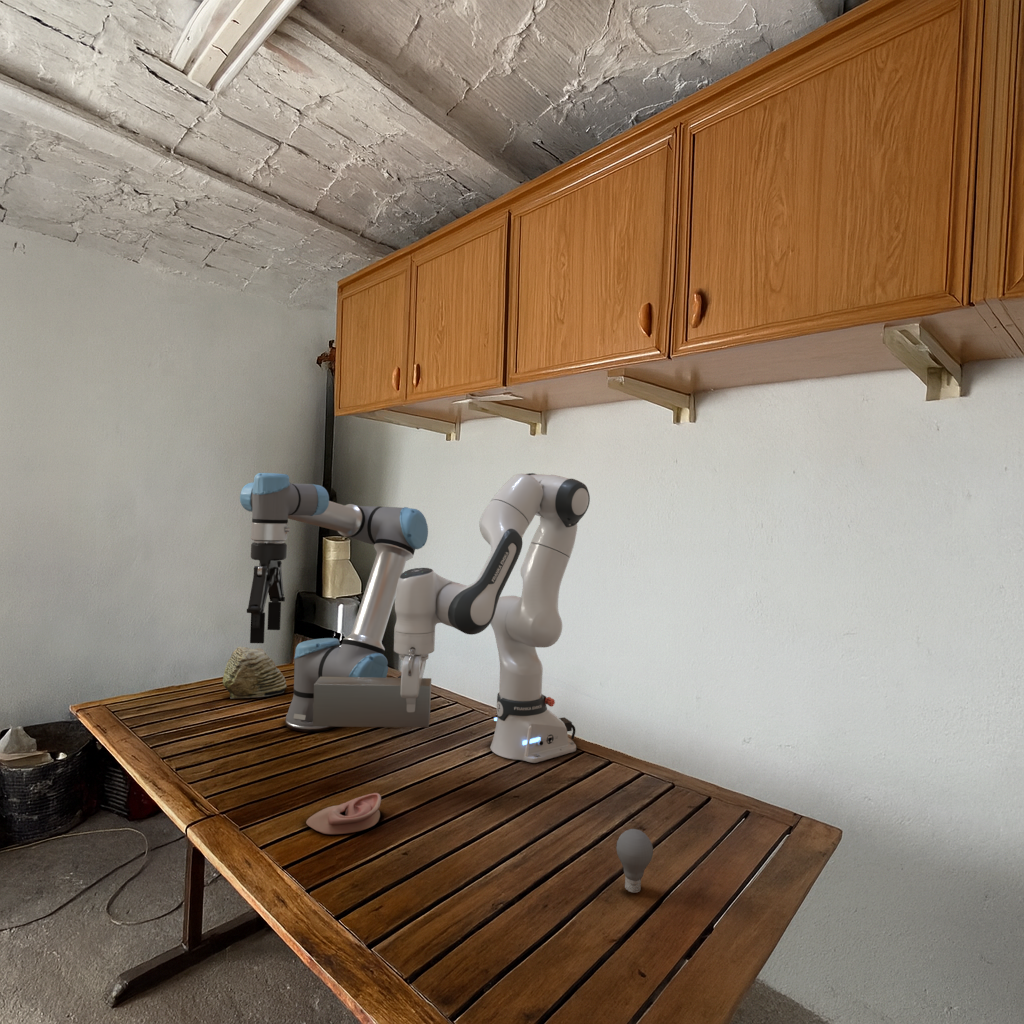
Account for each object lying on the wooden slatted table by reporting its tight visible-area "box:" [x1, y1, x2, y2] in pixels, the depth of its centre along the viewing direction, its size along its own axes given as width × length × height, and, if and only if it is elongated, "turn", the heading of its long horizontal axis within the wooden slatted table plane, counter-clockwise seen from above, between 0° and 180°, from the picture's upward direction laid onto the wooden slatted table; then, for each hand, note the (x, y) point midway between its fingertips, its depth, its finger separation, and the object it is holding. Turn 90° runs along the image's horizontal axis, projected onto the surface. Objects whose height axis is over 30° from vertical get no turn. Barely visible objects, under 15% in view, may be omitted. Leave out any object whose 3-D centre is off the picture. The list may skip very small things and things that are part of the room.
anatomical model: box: [305, 792, 382, 835], centre depth 124 cm, size 13×4×12 cm
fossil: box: [222, 646, 288, 699], centre depth 198 cm, size 9×18×15 cm, turn 132°
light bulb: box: [615, 828, 654, 894], centre depth 106 cm, size 6×6×10 cm
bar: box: [313, 677, 432, 728], centre depth 138 cm, size 24×6×9 cm, turn 94°
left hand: (265, 636), depth 142 cm, fingers open, 13 cm apart
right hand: (412, 705), depth 139 cm, fingers closed on bar, 6 cm apart
